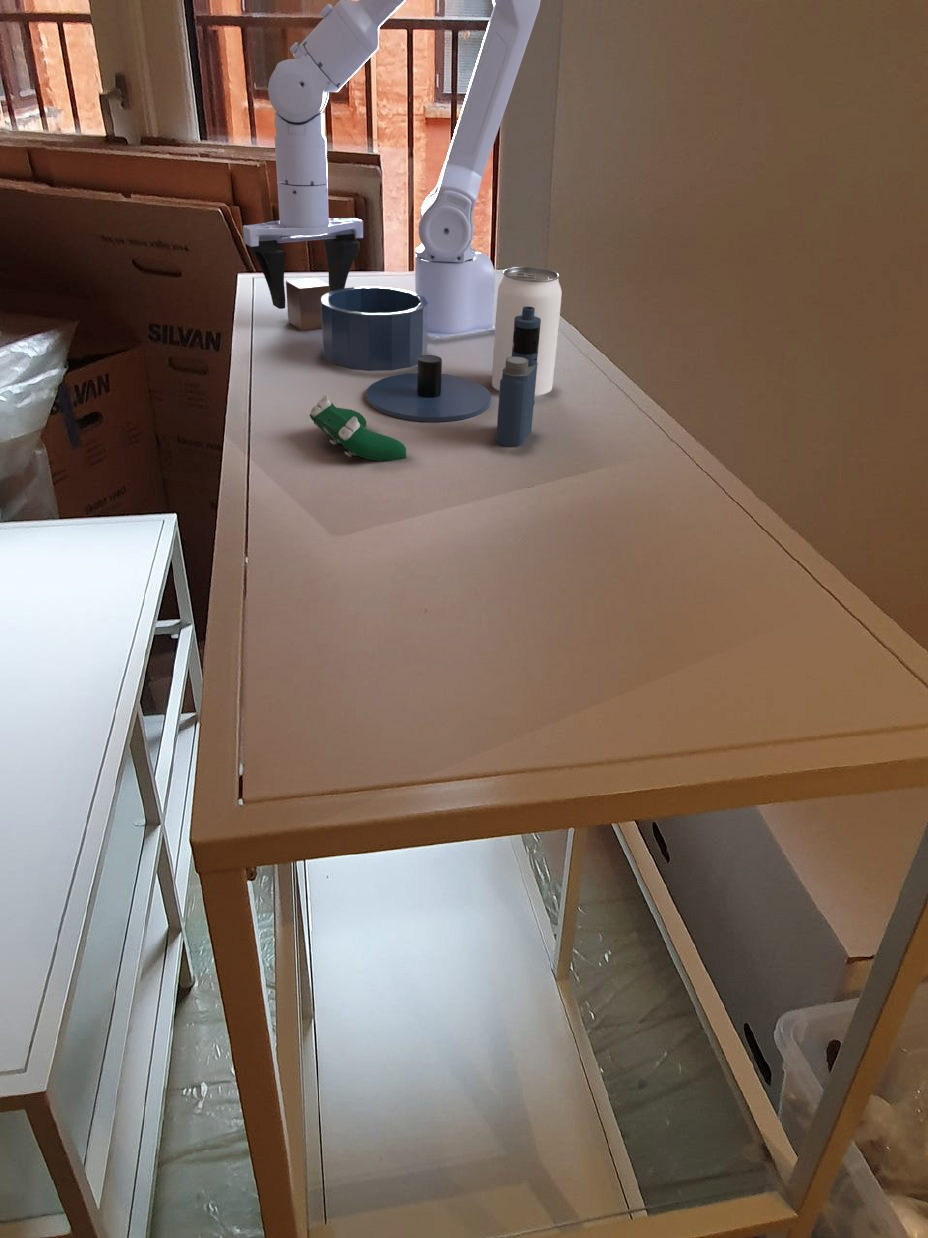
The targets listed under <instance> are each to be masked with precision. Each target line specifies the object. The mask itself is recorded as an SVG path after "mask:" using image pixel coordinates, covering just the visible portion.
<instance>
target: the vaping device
mask: <svg viewBox="0 0 928 1238" xmlns="http://www.w3.org/2000/svg"><path fill="white" fill-rule="evenodd" d="M534 310H535V308H533V307H528V306H527V307H523V310H522V315H520V316H516V317H515V319H514V333H513V345H514V347H513V346H512V357H508V358H506V365H505V368H504V369H503V370H502V372H503V373H502V379H501V380H500V391H499V394H498V407H497V420H496V421H497V422H496V437H495V438H496V439H495V440H496V442H497V444H498V445H500V446H503V447H507V448H518V447H521V446H522V445H523V444H524V443H525V441H526V440H527V439H528V437H529V436H530V435H531V433H532V426H533V418H534V417H533V416H534V415H533V414H534V406H535V403H536V402H535V397H536V396H535V385H536V374H537V364H538V362H537V357H538V349H537V347H539V336H540V325H541V319H540V318H539V317H536V316H534Z"/></svg>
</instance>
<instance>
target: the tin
mask: <svg viewBox="0 0 928 1238" xmlns="http://www.w3.org/2000/svg"><path fill="white" fill-rule="evenodd" d="M321 322H322V328H321V341H322V344H321V345H322V346H321V347H322V354H323V355H322V356H323V359H326V360H327V361H328V362H329V363H331V364H333V365H336V366H339V367H342V368H346V369H351V370H359V371H366V372H367V371H368V372H380V371H381V372H383V371H386V372H387V371H389V372H391V371H395V370H402V369H403V370H404V369H409V368H411V367H414V366H416V365H417V366H418V357H420V356H423V355H428V336H427V323H428V302H427V301H426V299H425V297H423V296H421V295H419V294H417V293H415V291H411V290H407V289H402V288H398V287H386V286H352V287H345V288H343V289H338V290H334V291H331V292H328V293H326V294H325V295H324V296H322V297H321Z"/></svg>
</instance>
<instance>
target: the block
mask: <svg viewBox="0 0 928 1238" xmlns="http://www.w3.org/2000/svg"><path fill="white" fill-rule="evenodd" d="M285 289H286V290H285V293H286V306H287V307H286V308H287V322H288V323H289V324H291V325H292V326H293V327H294V328H297V329H299V330H300V331H302V332H303V331H310V330H317V329H322V322H321V297H322V296H324V295H325V294H326V293H328V292H330V286H329V283H326V282H324V281H322V280H320V279H318V278H317V277H311V278H304V279H303V278H301V279H291V280H286V281H285Z"/></svg>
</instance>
